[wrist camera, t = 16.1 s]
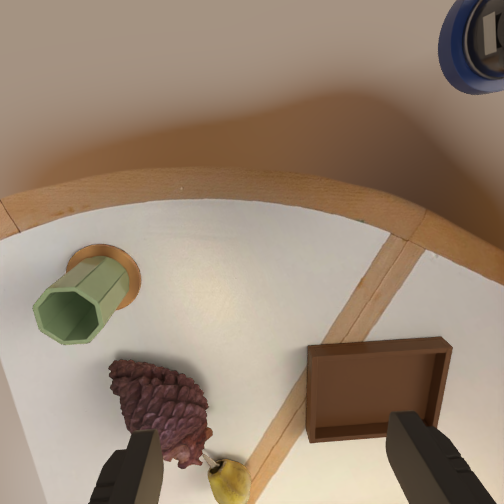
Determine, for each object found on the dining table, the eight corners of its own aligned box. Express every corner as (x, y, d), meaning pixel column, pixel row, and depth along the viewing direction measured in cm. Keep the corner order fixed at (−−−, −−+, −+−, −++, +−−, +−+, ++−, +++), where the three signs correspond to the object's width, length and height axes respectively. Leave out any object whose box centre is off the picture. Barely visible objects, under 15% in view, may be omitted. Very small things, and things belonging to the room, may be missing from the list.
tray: (441, 336, 47) (453, 347, 44) (426, 419, 52) (436, 433, 49) (307, 345, 46) (312, 357, 43) (305, 428, 51) (309, 443, 48)
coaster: (135, 242, 39) (133, 243, 39) (146, 307, 42) (144, 309, 42) (60, 246, 39) (57, 247, 38) (76, 311, 42) (74, 313, 41)
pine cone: (93, 383, 46) (72, 397, 36) (147, 330, 49) (141, 331, 39) (182, 470, 46) (184, 507, 36) (230, 412, 49) (243, 432, 39)
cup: (125, 254, 39) (95, 285, 31) (133, 301, 41) (107, 342, 33) (71, 257, 39) (26, 289, 30) (82, 304, 41) (43, 346, 33)
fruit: (216, 437, 50) (264, 472, 52) (196, 449, 53) (242, 483, 54) (202, 475, 45) (256, 514, 47) (181, 487, 48) (232, 523, 49)
